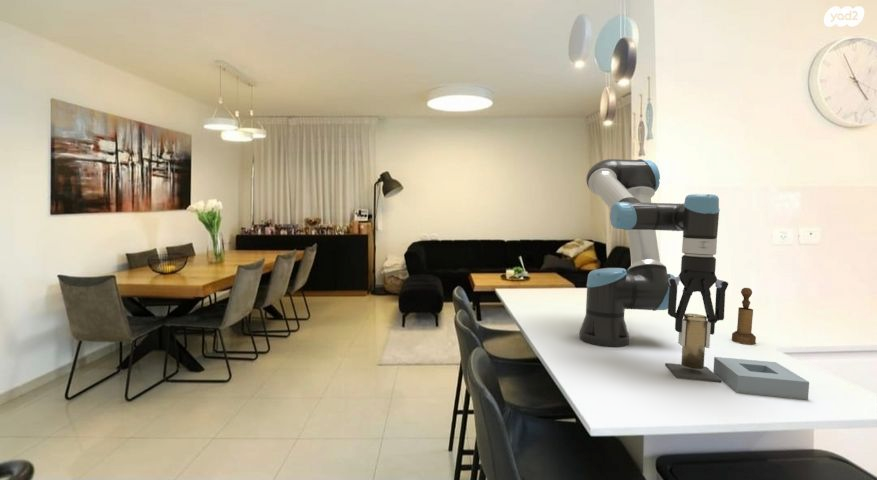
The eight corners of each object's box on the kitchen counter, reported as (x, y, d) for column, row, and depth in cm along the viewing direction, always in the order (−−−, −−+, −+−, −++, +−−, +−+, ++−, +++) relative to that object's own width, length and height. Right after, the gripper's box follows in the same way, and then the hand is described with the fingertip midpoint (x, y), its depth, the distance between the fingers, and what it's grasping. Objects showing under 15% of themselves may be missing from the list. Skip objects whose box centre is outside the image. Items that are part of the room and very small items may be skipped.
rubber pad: (676, 378, 108) (676, 375, 108) (665, 365, 118) (665, 362, 118) (721, 382, 106) (721, 380, 106) (706, 368, 116) (706, 366, 116)
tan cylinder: (684, 367, 110) (687, 317, 109) (678, 361, 115) (681, 312, 114) (706, 369, 109) (709, 318, 108) (699, 363, 114) (702, 314, 113)
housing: (737, 392, 100) (738, 375, 100) (713, 371, 114) (714, 356, 113) (808, 399, 97) (809, 382, 97) (774, 377, 110) (775, 362, 110)
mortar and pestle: (759, 345, 140) (763, 290, 139) (737, 343, 141) (740, 288, 140) (749, 339, 147) (752, 286, 146) (728, 338, 148) (731, 285, 147)
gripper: (664, 254, 109) (659, 346, 110) (745, 258, 105) (739, 353, 106) (656, 252, 116) (651, 338, 117) (732, 255, 112) (726, 344, 113)
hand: (693, 345), depth 112 cm, fingers closed on tan cylinder, 5 cm apart
